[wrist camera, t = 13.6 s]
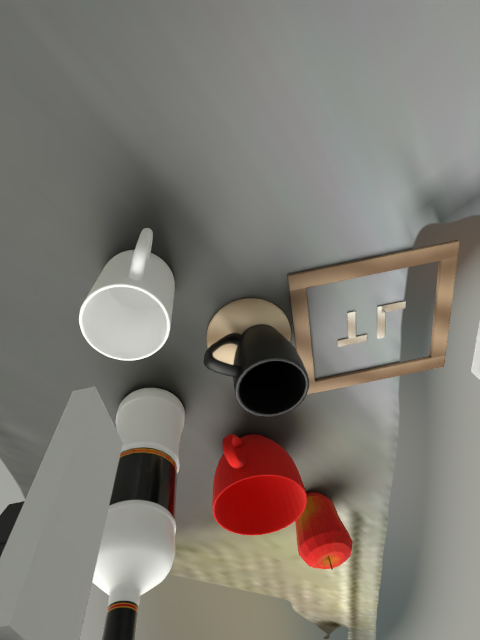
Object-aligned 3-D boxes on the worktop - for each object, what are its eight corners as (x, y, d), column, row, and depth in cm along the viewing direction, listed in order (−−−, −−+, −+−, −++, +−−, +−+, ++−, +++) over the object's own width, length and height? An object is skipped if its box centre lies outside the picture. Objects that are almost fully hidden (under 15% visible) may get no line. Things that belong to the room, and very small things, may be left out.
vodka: (187, 385, 52) (177, 661, 26) (183, 434, 56) (171, 712, 30) (118, 382, 51) (34, 671, 25) (119, 432, 55) (49, 723, 29)
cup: (98, 304, 45) (74, 351, 36) (113, 206, 40) (89, 233, 31) (167, 319, 47) (160, 367, 38) (190, 227, 41) (188, 258, 33)
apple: (280, 511, 68) (295, 582, 58) (300, 481, 65) (320, 551, 54) (321, 518, 70) (343, 587, 60) (343, 489, 67) (369, 558, 57)
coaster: (197, 307, 46) (197, 310, 46) (285, 290, 46) (286, 292, 46) (216, 377, 52) (216, 379, 51) (294, 361, 52) (295, 363, 51)
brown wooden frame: (287, 274, 45) (288, 276, 45) (457, 240, 45) (459, 241, 45) (301, 393, 55) (302, 395, 54) (442, 364, 55) (444, 366, 54)
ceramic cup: (264, 388, 54) (277, 441, 45) (302, 459, 62) (319, 516, 53) (183, 421, 55) (180, 479, 47) (231, 486, 63) (236, 546, 55)
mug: (220, 292, 45) (225, 333, 37) (302, 328, 49) (324, 373, 40) (191, 345, 48) (190, 393, 40) (270, 375, 52) (284, 425, 44)
